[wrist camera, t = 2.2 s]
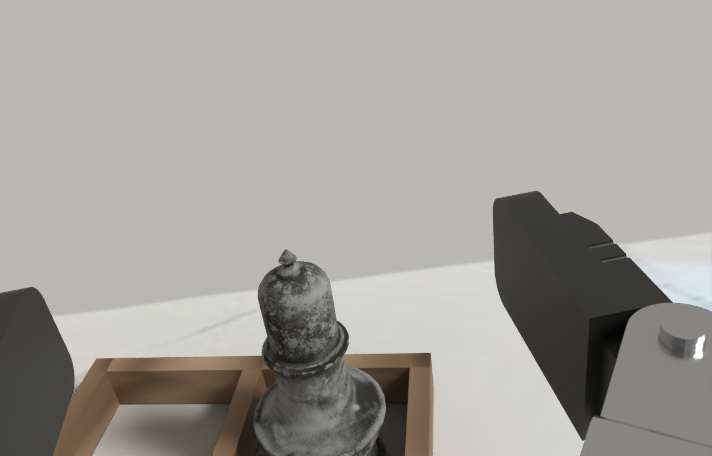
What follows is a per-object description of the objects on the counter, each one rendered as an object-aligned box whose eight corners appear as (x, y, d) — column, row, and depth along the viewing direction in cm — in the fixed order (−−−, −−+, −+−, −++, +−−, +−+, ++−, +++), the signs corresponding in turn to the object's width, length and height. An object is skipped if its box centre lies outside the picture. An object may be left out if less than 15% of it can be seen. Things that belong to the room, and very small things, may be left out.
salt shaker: (244, 464, 31) (179, 256, 25) (339, 397, 34) (302, 196, 28) (319, 546, 27) (264, 321, 21) (419, 461, 30) (396, 243, 24)
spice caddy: (18, 549, 29) (-4, 515, 28) (110, 390, 37) (96, 358, 36) (431, 563, 26) (427, 525, 25) (433, 387, 34) (430, 353, 33)
